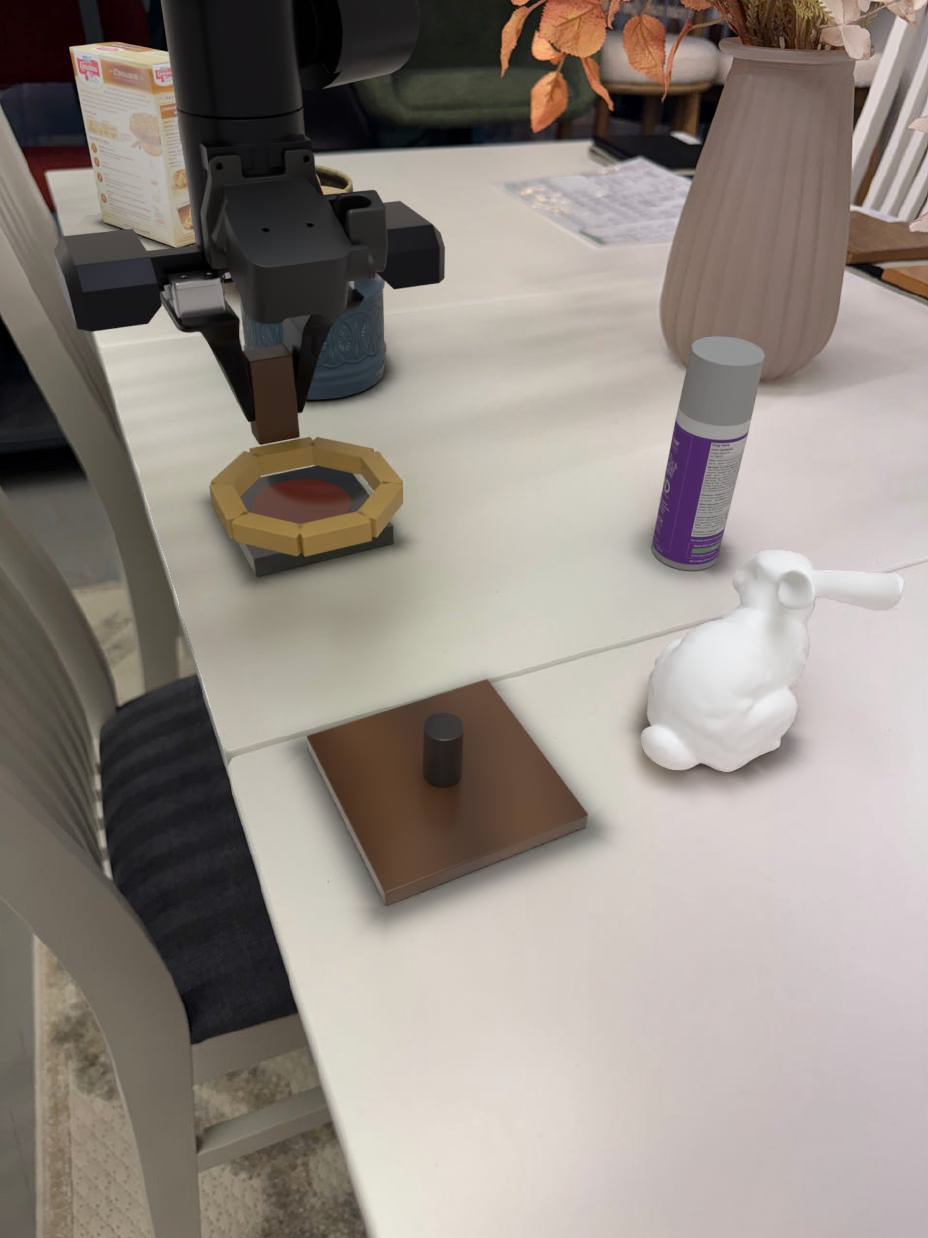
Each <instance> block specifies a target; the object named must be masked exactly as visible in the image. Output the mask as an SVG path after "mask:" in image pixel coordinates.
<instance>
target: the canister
mask: <svg viewBox="0 0 928 1238" xmlns="http://www.w3.org/2000/svg"><path fill="white" fill-rule="evenodd" d="M316 175H317V174H316ZM317 178H318V176H317ZM318 181H319V183H320V180H319V178H318ZM320 186H321V184H320ZM321 189H322V191H323V194H324V195H326V194H336V193H345V192H347V191H345V190H342V189H338V188H333V187H327V186H321ZM385 285H386V282H385V281H384V280H383V279H382V278H381V277H380V276H379V275H378V274H377V273H376V275H375V278H373V279H365V280H357V281H354V287H355V288H356V289H357V290H358V291H359V292H360V293H361V294H362V295H363V296H364V302H363V304H362V306H361V307H360V308H357V309H351V310H348V311H347V312H345V313H344V314H343V315H342V316H341V317H340V318H339V319H338V320H337V321H336V322H335V323H334V324H333V326H332V327H331V330H330V332H329V334H328V336H327V339H326V341H325V343H324V346H323V348H322V351H321V354H320V357H319V360H318V363H317V367H316V370H315V373H314V377H313V380H312V383H311V387H310V390H309V393H308V397H307V401H308V400H309V401H311V400H313V401H314V400H317V401H318V400H331V399H339V398H343V397H348V396H352V395H355V394H359V393H361V392H363V391H366V390H368V389H370V388H371V387H373V386H374V385H376V384H377V383H378V382H379V381H380V380H381V379H382V378H383V376H384V372H385V365H386V363H387V362H386V361H387V343H386V341H385V312H384V311H385V310H384V309H385V308H384V303H385V302H384V289H385ZM238 298H239V305H240V314H241V322H242V324H241V325H242V333H243V339H244V340H243V341H244V345H243V349H242V351H245V350H251V349H258V348H264V347H271V346H277V345H284V339H283V322H281V323H275V324H263V323H259V322H256V321H254V320H252V319H251V318H249V317H248V316H247V314H246V313H245V311H244V309H243V306H242V302H241V298H240V296H239V295H238Z"/></svg>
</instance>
